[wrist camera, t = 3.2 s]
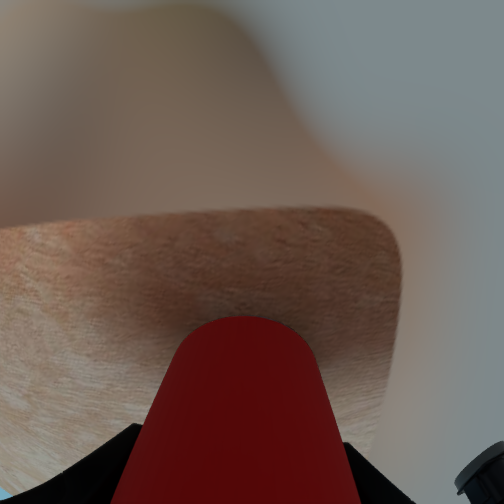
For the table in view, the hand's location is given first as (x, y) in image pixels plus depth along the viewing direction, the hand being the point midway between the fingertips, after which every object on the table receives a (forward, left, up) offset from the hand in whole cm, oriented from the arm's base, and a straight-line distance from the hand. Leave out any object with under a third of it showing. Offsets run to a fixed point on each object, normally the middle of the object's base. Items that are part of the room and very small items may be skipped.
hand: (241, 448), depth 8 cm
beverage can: (0, 0, -5) cm, 5 cm away
